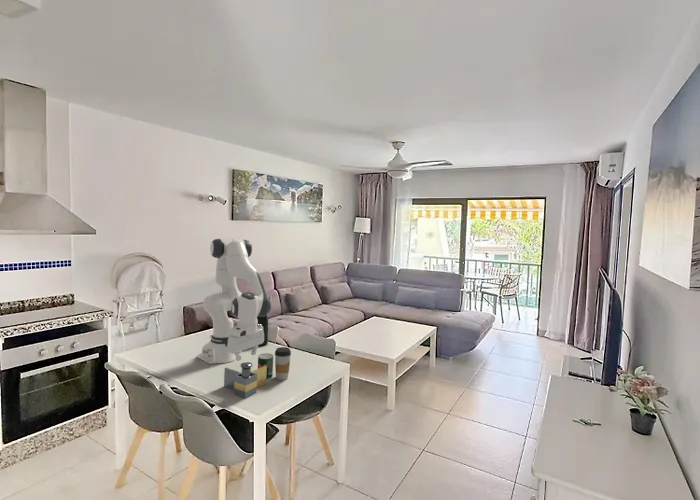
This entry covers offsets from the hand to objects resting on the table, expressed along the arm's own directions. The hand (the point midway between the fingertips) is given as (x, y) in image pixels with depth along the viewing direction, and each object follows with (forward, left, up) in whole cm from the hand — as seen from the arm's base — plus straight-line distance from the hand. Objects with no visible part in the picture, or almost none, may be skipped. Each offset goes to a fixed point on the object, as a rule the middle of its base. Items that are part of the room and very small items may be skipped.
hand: (246, 357), depth 175 cm
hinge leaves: (-5, +5, -17) cm, 19 cm away
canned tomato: (-6, +20, -17) cm, 27 cm away
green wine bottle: (-44, +57, -17) cm, 74 cm away
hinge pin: (0, 0, -17) cm, 17 cm away
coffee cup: (+2, +24, -17) cm, 30 cm away
